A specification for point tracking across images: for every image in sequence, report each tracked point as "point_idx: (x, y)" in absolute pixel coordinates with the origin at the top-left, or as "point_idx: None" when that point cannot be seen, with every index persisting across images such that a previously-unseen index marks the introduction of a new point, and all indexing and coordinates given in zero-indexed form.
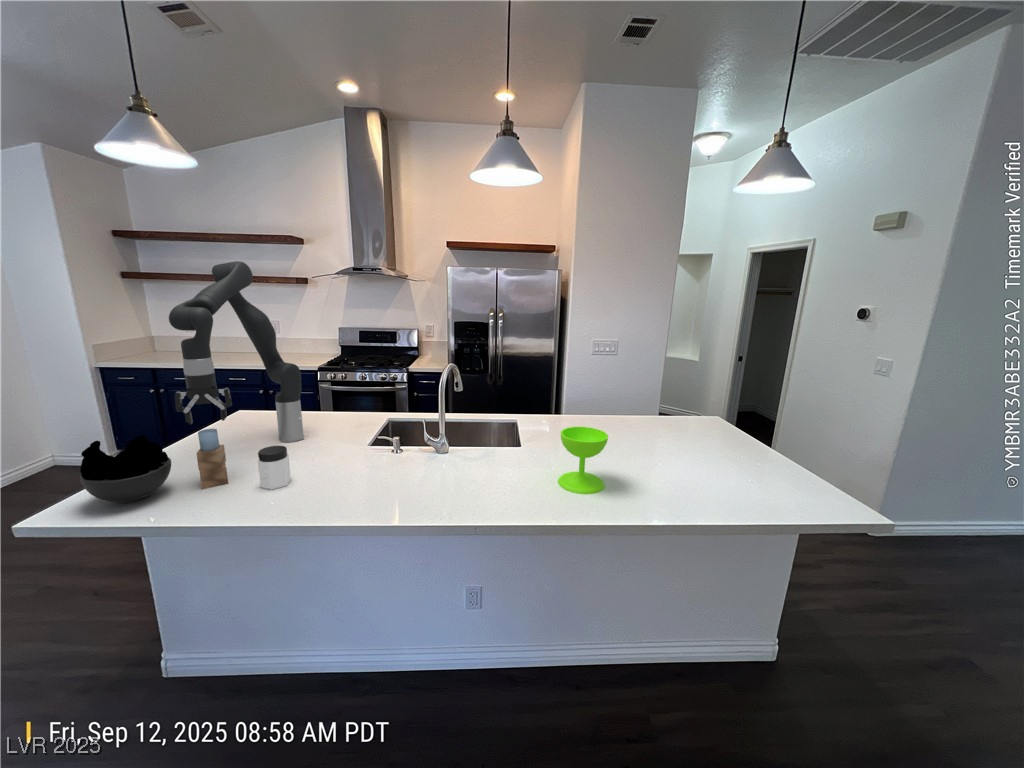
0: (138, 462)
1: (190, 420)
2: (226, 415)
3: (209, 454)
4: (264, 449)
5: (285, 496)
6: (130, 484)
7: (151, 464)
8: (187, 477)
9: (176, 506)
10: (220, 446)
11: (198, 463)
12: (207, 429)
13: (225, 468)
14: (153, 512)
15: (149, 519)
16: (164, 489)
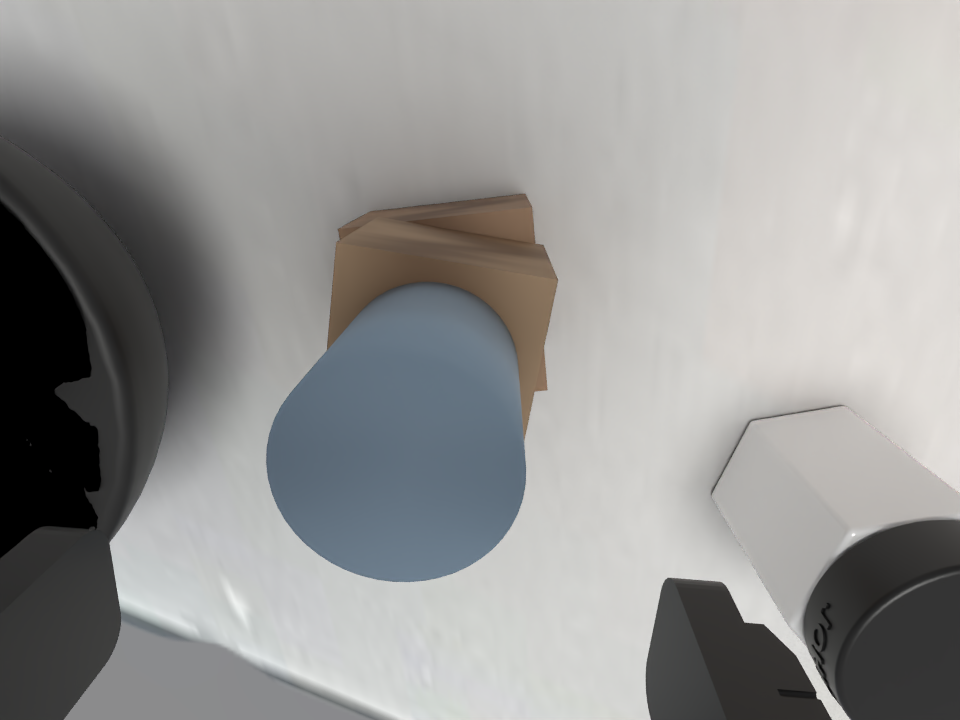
0: None
1: (62, 712)
2: (790, 699)
3: None
4: (904, 629)
5: (804, 649)
6: None
7: (2, 441)
8: (259, 74)
9: None
10: (526, 342)
11: None
12: (380, 380)
13: (540, 386)
14: (217, 537)
15: (224, 599)
16: (171, 246)
